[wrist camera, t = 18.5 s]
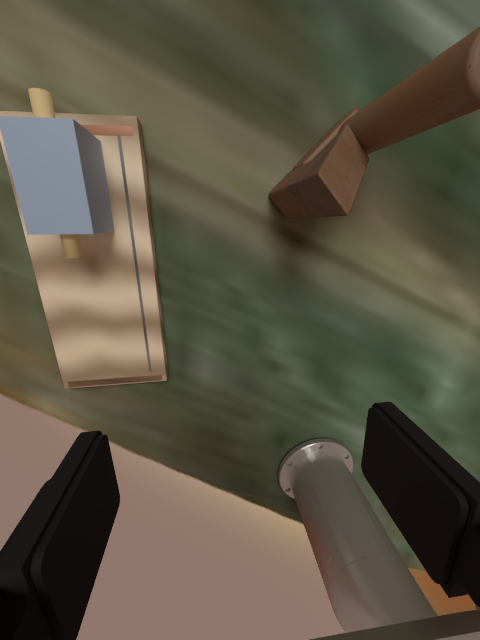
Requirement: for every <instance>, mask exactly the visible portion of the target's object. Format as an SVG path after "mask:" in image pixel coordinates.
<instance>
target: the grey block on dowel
mask: <svg viewBox="0 0 480 640" xmlns="http://www.w3.org/2000/svg"><path fill="white" fill-rule="evenodd" d="M28 91H29V96H30V101H31V105H32V110H33V114H34V117H15V116H0V130H1V134H2V138H3V141H4V145H5V149H6V153H7V157H8V161H9V165H10V169H11V173H12V177H13V181H14V184H15V188H16V192H17V196H18V200H19V204H20V208H21V212H22V216H23V220H24V223H25V227H26V231H27V235H60V238H61V243H62V247H63V252H64V256H65V258H81V257H83V254H82V249H81V244H80V239H79V234H99V233H108V232H115V231H114V224H113V218H112V211H111V205H110V198H109V192H108V185H107V179H106V172H105V166H104V159H103V153H102V146H101V141H100V140H99V139H97V138H96V137H95V136H94V135H92V134H91V133H90V132H89V131H87V130H86V129H85V128H84V127H83V126H81V125H80V124H79V123H78V122H76V121H75V120H74V119H71V118H56V117H55V112H54V107H53V102H52V96H51V93H50V92H48V91H46V90H43V89H39V88H30V89H28Z"/></svg>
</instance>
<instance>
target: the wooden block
mask: <svg viewBox="0 0 480 640" xmlns="http://www.w3.org/2000/svg"><path fill="white" fill-rule="evenodd" d="M478 109H480V27H479V28H477V29H476V30H474V31H473V32H472V33H470V34H469V35H467V36H466V37H464V38H463V39H462V40H460V41H459V42H457V43H456V44H454V45H453V46H452V47H450V48H449V49H447V50H446V51H444V52H443V53H442V54H440V55H439V56H437V57H436V58H434V59H433V60H432V61H430V62H429V63H427V64H426V65H424V66H423V67H421V68H420V69H419V70H417V71H416V72H414V73H413V74H411V75H410V76H409V77H407V78H406V79H404V80H403V81H401V82H400V83H399V84H397V85H396V86H394V87H393V88H391V89H390V90H389V91H387V92H386V93H384V94H383V95H381V96H380V97H379V98H377V99H376V100H374V101H373V102H371V103H370V104H369V105H367V106H366V107H364V108H363V109H361V110H360V111H359V110H358V109H354V110H353V111H351V112H350V113H349V114H347V115H346V116H345V117H343V118H342V119H340V120H339V121H338V122H337V123H336V124H335V125H334V126H333V127H332V128H331V129H330V131H329V132H328V133H327V134H326V135H325V136H324V137H323V138H322V139H321V140H320V141H319V142H318V143H317V144H316V145H315V146H314V147H313V148H312V149H311V150H310V151H309V152H308V153H307V154H306V155H305V156H304V157H303V158H302V159H301V161H300V162H299V163H298V164H297V165H296V166H295V167H294V168H293V170H292V171H291V172H289V173H288V174H287V175H286V176H285V177H284V178H283V179H282V180H281V181H280V182H279V183H278V184H277V185H276V186H275V187H274V188H273V189H272V191H271V192H270V193H269V197H270V198H271V199H272V201H273V202H274V203H275V204H276V205H277V207H278V208H279V209H280V210H281V212H282V213H283V214H284V215H285V216H286V217H287V218H297V217H325V216H346V215H348V214H349V213H350V210H351V207H352V205H353V202H354V199H355V196H356V194H357V191H358V188H359V186H360V183H361V180H362V177H363V175H364V172H365V169H366V167H367V164H368V161H369V157H368V156H367V154H369V153H372V152H374V151H377V150H379V149H382V148H384V147H387V146H389V145H392V144H394V143H397V142H399V141H401V140H404V139H406V138H409V137H411V136H414V135H416V134H419V133H421V132H424V131H426V130H429V129H431V128H433V127H436V126H438V125H441V124H443V123H446V122H448V121H451V120H453V119H456V118H458V117H461V116H463V115H466V114H468V113H470V112H473V111H475V110H478Z"/></svg>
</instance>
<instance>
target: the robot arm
mask: <svg viewBox="0 0 480 640" xmlns="http://www.w3.org/2000/svg"><path fill="white" fill-rule="evenodd" d="M361 467H362V472H363V474H364V476H365V478H366V479H367V481H368V482H369V484H370V485H371V487H372V489H373V490H374V492H375V493H376V495H377V496H378V498H379V499H380V501H381V502H382V504H383V505H384V507H385V508H386V510H387V512H388V513H389V515H390V516H391V518H392V519H393V521H394V522H395V524H396V525H397V527H398V528H399V530H400V531H401V533H402V534H403V536H404V538H405V539H406V541H407V542H408V544H409V545H410V547H411V548H412V550H413V551H414V553H415V554H416V556H417V557H418V559H419V561H420V562H421V564H422V565H423V567H424V568H425V570H426V571H427V573H428V574H429V576H430V577H431V579H432V580H433V581H434V582H435V583H437V584H440V585H441V587H442V588H443V590H444V591H445V593H446V594H447V595H448V597H449V598H451V597H457V596H462V595H467V593H468V595H469V596H470V597H471V599H472V600H473V601H474V603H475V605H476V610H473V611H467V612H460V613H453V614H448V615H442V616H438V615H437V614H436V612H435V611H434V609H433V608H432V606H431V605H430V603H429V601H428V600H427V598H426V597H425V595H424V593H423V592H422V590H421V589H420V587H419V585H418V584H417V582H416V581H415V579H414V577H413V576H412V574H411V572H410V571H409V569H408V567H407V566H406V564H405V562H404V561H403V559H402V557H401V556H400V554H399V552H398V551H397V549H396V547H395V546H394V544H393V542H392V541H391V539H390V537H389V536H388V534H387V532H386V531H385V529H384V527H383V526H382V524H381V522H380V521H379V519H378V517H377V516H376V514H375V512H374V511H373V509H372V507H371V506H370V504H369V502H368V501H367V499H366V497H365V496H364V494H363V492H362V491H361V489H360V487H359V486H358V484H357V482H356V481H355V479H354V477H353V476H352V470H353V459H352V456H351V454H350V452H349V451H348V449H347V448H346V447H345V446H344V445H343V444H342V443H340V442H338V441H336V440H332V439H325V438H321V439H314V440H309V441H307V442H304V443H302V444H300V445H298V446H296V447H295V448H294V449H292V450H291V451H290V452H289V453H288V454H287V455H286V456H285V457H284V459H283V460H282V462H281V464H280V467H279V471H278V479H279V482H280V486H281V488H282V490H283V491H284V492H285V493H286V494H287V495H288V496H290V497H291V498H294V499H295V500H296V503H297V506H298V509H299V512H300V514H301V517H302V520H303V523H304V526H305V529H306V532H307V535H308V538H309V541H310V543H311V546H312V549H313V552H314V555H315V558H316V561H317V564H318V567H319V570H320V573H321V576H322V578H323V581H324V584H325V587H326V590H327V593H328V596H329V599H330V602H331V605H332V607H333V610H334V613H335V615H336V617H337V619H338V621H339V623H340V624H341V626H342V627H343V629H344V630H345V632H346V633H343V634H337V635H332V636H327V637H321V638H316V639H310V640H480V482H479V481H478V480H476V479H475V478H474V477H473V476H472V475H471V474H470V473H469V472H468V471H467V470H465V469H464V468H463V467H462V466H461V465H460V464H459V463H458V462H457V461H456V460H454V459H453V458H452V457H451V456H450V455H449V454H448V453H447V452H446V451H445V450H443V449H442V448H441V447H440V446H439V445H438V444H437V443H436V442H435V441H434V440H432V439H431V438H430V437H429V436H428V435H427V434H426V433H425V432H424V431H423V430H421V429H420V428H419V427H418V426H417V425H416V424H415V423H414V422H413V421H412V420H410V419H409V418H408V417H407V416H406V415H405V414H404V413H403V412H402V411H401V410H399V409H398V408H397V407H396V406H395V405H394V404H393V403H391V402H383V403H375V404H373V405H372V408H370V409H369V411H368V417H367V425H366V433H365V440H364V448H363V456H362V463H361ZM119 503H120V494H119V489H118V484H117V479H116V475H115V470H114V465H113V461H112V456H111V451H110V446H109V441H108V437H107V435H102V433H101V431H91V432H82V433H81V434H80V435H79V436H78V437H77V439H76V440H75V442H74V443H73V445H72V447H71V448H70V450H69V451H68V453H67V455H66V456H65V458H64V459H63V461H62V463H61V464H60V465H59V467H58V469H57V470H56V472H55V473H54V475H53V476H52V478H51V479H50V480H48V481H47V482H46V483H45V484H44V485H43V487H42V488H41V489H40V491H39V492H38V494H37V496H36V497H35V499H34V500H33V502H32V503H31V505H30V506H29V508H28V509H27V511H26V513H25V514H24V516H23V517H22V519H21V520H20V522H19V523H18V525H17V526H16V528H15V529H14V531H13V533H12V534H11V536H10V537H9V539H8V540H7V542H6V544H5V545H4V546H3V548H2V549H1V551H0V640H76V638H77V635H78V632H79V629H80V626H81V623H82V619H83V617H84V614H85V611H86V607H87V604H88V601H89V598H90V595H91V592H92V589H93V586H94V582H95V579H96V576H97V573H98V570H99V567H100V564H101V561H102V558H103V555H104V551H105V548H106V545H107V542H108V539H109V536H110V533H111V530H112V527H113V523H114V520H115V517H116V514H117V511H118V508H119Z"/></svg>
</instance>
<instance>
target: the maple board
mask: <svg viewBox="0 0 480 640" xmlns="http://www.w3.org/2000/svg"><path fill="white" fill-rule="evenodd" d="M0 116H15V117H34V114H33V112H12V111H0ZM55 117H56V118H71V119H74V120H75V121H76V122H78V123H79V124H80V125H81V126H83V127H84V128H85V129H86V130H87V131H89V132H90V133H91V134H92V135H94V136H95V137H96V138H97V139H99V140H100V141H101V146H102V153H103V159H104V166H105V172H106V179H107V185H108V192H109V198H110V205H111V211H112V218H113V224H114V231H115V232H108V233H99V234H79V239H80V244H81V249H82V254H83V257H81V258H65V256H64V252H63V247H62V243H61V238H60V235H27V231H26V227H25V223H24V220H23V216H22V212H21V208H20V204H19V200H18V196H17V192H16V188H15V184H14V181H13V177H12V173H11V169H10V165H9V161H8V157H7V153H6V149H5V145H4V141H3V138H2V134H1V130H0V140H1V144H2V148H3V152H4V156H5V160H6V164H7V167H8V171H9V175H10V179H11V183H12V187H13V191H14V195H15V198H16V202H17V206H18V210H19V214H20V218H21V222H22V225H23V229H24V233H25V237H26V241H27V245H28V249H29V252H30V256H31V260H32V264H33V268H34V272H35V276H36V279H37V283H38V287H39V291H40V295H41V299H42V303H43V307H44V310H45V314H46V318H47V322H48V326H49V330H50V334H51V337H52V341H53V345H54V349H55V353H56V357H57V361H58V364H59V368H60V372H61V376H62V380H63V384H64V388H65V389H66V388H78V387H91V386H104V385H117V384H129V383H142V382H155V381H167V376H168V365H167V356H166V347H165V338H164V329H163V319H162V310H161V301H160V292H159V283H158V274H157V264H156V255H155V246H154V237H153V228H152V219H151V209H150V200H149V191H148V182H147V173H146V164H145V154H144V145H143V136H142V127H141V122H140V121H139V119H138V117H137V116H117V115H91V114H65V113H55Z"/></svg>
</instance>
